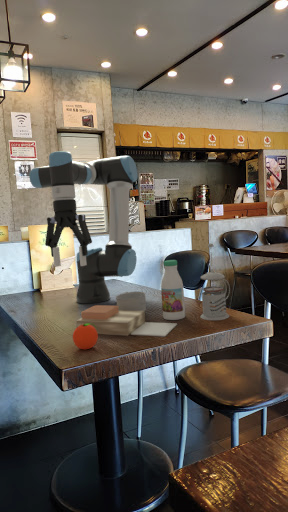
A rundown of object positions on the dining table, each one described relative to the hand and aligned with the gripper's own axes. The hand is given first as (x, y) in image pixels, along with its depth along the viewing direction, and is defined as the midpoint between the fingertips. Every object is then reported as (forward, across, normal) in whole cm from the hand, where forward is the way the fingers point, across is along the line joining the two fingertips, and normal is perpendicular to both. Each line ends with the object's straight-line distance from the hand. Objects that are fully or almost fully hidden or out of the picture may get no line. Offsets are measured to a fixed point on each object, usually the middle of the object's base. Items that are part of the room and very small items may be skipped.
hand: (70, 265), depth 126 cm
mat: (+21, +29, 0) cm, 36 cm away
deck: (+21, +14, 0) cm, 25 cm away
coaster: (+17, +10, 0) cm, 20 cm away
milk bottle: (+21, +31, +14) cm, 40 cm away
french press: (+21, +45, +18) cm, 53 cm away
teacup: (+21, +14, +16) cm, 30 cm away
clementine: (+21, +16, -19) cm, 33 cm away
